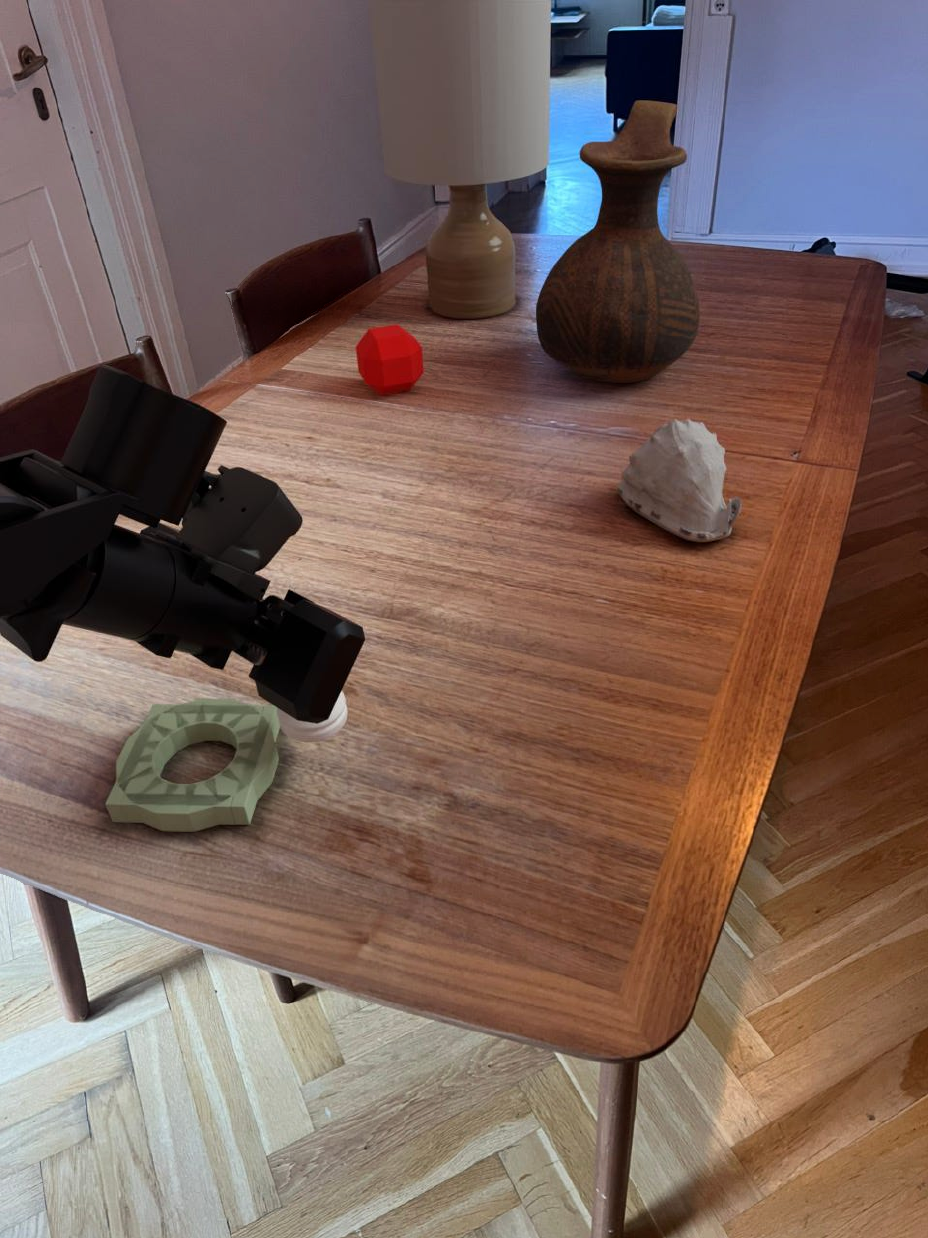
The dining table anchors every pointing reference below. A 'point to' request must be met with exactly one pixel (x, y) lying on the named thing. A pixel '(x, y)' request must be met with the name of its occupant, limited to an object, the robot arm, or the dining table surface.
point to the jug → (623, 265)
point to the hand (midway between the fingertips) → (315, 640)
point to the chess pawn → (314, 724)
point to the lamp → (464, 128)
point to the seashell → (681, 482)
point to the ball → (389, 359)
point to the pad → (209, 800)
